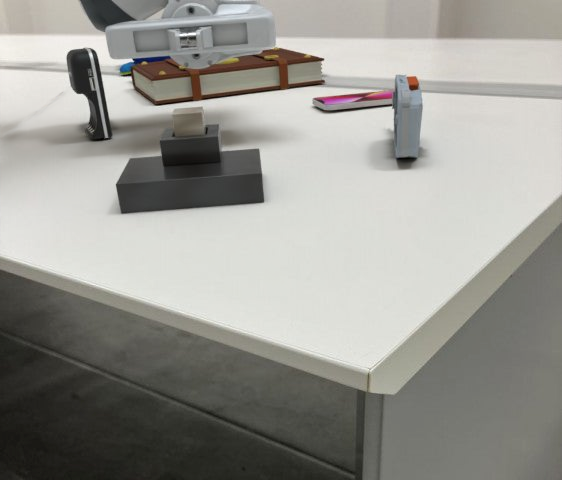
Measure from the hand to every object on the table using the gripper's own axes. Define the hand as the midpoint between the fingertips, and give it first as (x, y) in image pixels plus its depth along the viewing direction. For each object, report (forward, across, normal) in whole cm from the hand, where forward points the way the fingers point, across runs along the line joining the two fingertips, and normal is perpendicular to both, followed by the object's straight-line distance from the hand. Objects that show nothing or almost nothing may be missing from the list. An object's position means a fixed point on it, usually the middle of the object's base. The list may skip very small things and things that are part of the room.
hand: (188, 41), depth 76 cm
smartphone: (-26, +24, +13) cm, 38 cm away
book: (-54, +2, +13) cm, 56 cm away
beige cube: (+11, 0, +8) cm, 14 cm away
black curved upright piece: (-17, -16, +13) cm, 27 cm away
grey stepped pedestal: (+15, 0, +13) cm, 19 cm away
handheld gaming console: (+5, +24, +13) cm, 28 cm away
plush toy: (-84, -14, +13) cm, 86 cm away
